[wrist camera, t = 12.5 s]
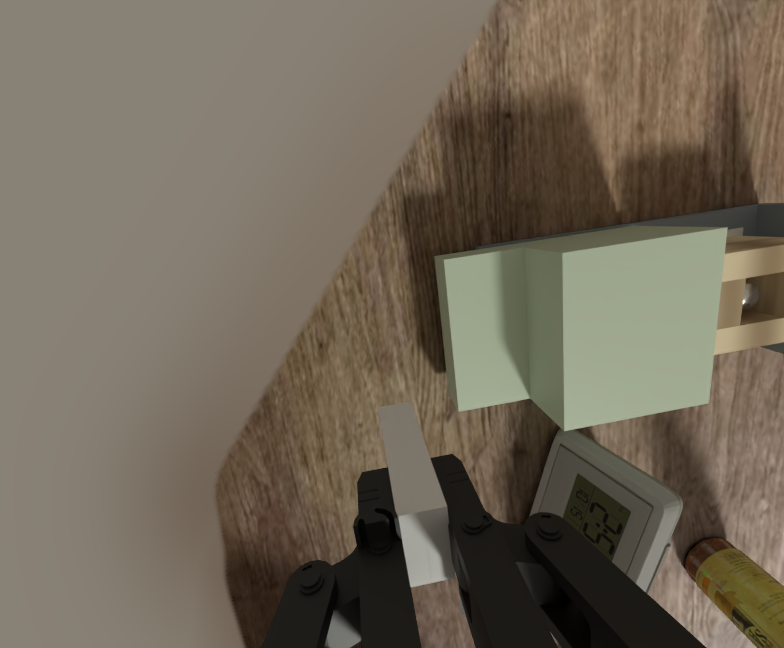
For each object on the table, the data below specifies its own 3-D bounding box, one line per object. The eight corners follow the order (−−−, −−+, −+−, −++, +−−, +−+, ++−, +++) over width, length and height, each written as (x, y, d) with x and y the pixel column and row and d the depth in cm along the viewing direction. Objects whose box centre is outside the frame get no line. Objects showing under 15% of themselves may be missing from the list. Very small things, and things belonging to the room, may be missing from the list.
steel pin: (669, 296, 35) (734, 311, 29) (671, 275, 34) (737, 286, 28) (689, 293, 35) (757, 307, 29) (691, 272, 34) (761, 282, 29)
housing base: (484, 382, 35) (533, 438, 26) (474, 246, 31) (527, 256, 22) (741, 335, 37) (870, 372, 28) (758, 203, 33) (911, 197, 24)
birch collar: (651, 332, 34) (712, 355, 28) (655, 248, 32) (723, 254, 26) (727, 319, 35) (803, 338, 29) (737, 235, 33) (820, 238, 27)
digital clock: (558, 413, 37) (639, 487, 27) (631, 438, 39) (734, 515, 28) (488, 545, 40) (538, 656, 30) (559, 561, 42) (628, 671, 32)
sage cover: (448, 395, 33) (480, 447, 25) (434, 256, 30) (465, 268, 22) (627, 362, 34) (708, 403, 27) (633, 225, 31) (727, 227, 23)
